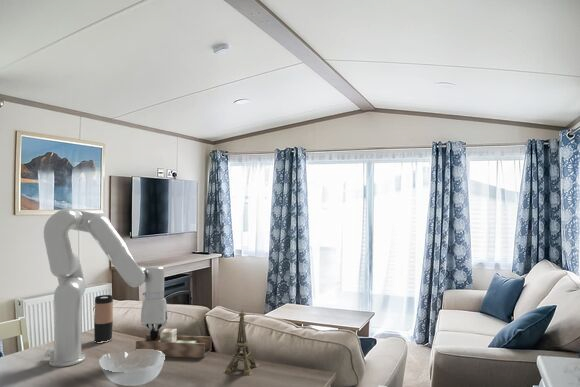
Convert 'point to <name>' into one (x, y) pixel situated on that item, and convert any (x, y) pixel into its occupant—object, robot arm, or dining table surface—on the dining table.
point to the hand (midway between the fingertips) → (154, 339)
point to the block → (168, 335)
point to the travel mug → (103, 318)
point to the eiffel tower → (244, 354)
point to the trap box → (179, 346)
